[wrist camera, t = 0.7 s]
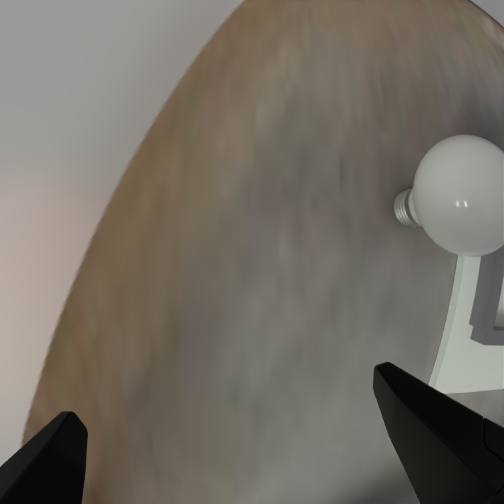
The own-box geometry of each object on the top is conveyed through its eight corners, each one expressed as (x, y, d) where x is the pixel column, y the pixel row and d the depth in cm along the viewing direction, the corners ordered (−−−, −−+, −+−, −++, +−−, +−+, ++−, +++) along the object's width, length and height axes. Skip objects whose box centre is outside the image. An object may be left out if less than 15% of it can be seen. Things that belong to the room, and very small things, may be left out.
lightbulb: (396, 150, 21) (484, 93, 10) (451, 206, 21) (554, 188, 10) (349, 213, 21) (432, 188, 10) (411, 270, 21) (514, 288, 10)
